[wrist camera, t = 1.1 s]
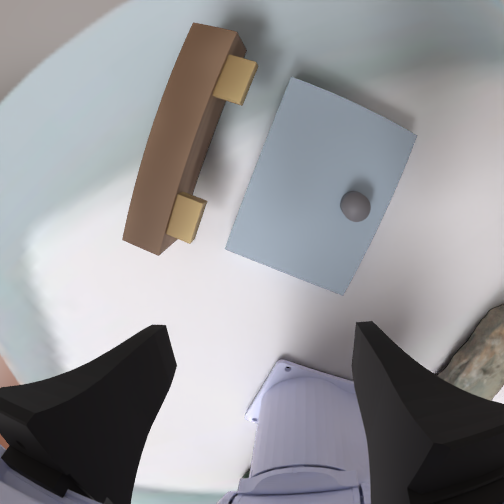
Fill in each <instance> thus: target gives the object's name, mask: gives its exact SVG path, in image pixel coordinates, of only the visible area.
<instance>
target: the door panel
mask: <svg viewBox="0 0 504 504" xmlns="http://www.w3.org/2000/svg"><path fill="white" fill-rule="evenodd" d="M416 138H417V135H416V134H414V133H412V132H410V131H409V130H407V129H405V128H403V127H401V126H400V125H398V124H396V123H394V122H392V121H390V120H388V119H387V118H385V117H383V116H381V115H379V114H377V113H375V112H373V111H371V110H369V109H367V108H365V107H363V106H361V105H358V104H356V103H354V102H352V101H350V100H348V99H345V98H343V97H341V96H339V95H336V94H334V93H332V92H329V91H327V90H325V89H322V88H320V87H317V86H315V85H312V84H310V83H307V82H305V81H302V80H299V79H297V78H294V77H291V79H290V81H289V83H288V86H287V88H286V91H285V93H284V96H283V98H282V101H281V103H280V106H279V108H278V111H277V113H276V116H275V118H274V121H273V123H272V126H271V128H270V131H269V133H268V136H267V139H266V141H265V144H264V146H263V149H262V151H261V154H260V157H259V159H258V162H257V164H256V167H255V170H254V172H253V175H252V177H251V180H250V183H249V185H248V188H247V191H246V193H245V196H244V198H243V201H242V204H241V206H240V209H239V212H238V215H237V217H236V220H235V223H234V225H233V228H232V231H231V233H230V236H229V239H228V242H227V244H226V247H225V249H226V250H228V251H231V252H233V253H236V254H238V255H241V256H243V257H246V258H248V259H251V260H253V261H256V262H258V263H261V264H263V265H266V266H269V267H271V268H274V269H276V270H279V271H281V272H284V273H286V274H289V275H291V276H294V277H296V278H299V279H301V280H304V281H307V282H309V283H312V284H314V285H317V286H319V287H322V288H324V289H327V290H330V291H332V292H335V293H337V294H340V295H342V296H343V295H344V293H345V291H346V289H347V287H348V286H349V284H350V282H351V280H352V278H353V276H354V274H355V272H356V271H357V269H358V267H359V265H360V263H361V261H362V259H363V257H364V255H365V253H366V251H367V249H368V247H369V245H370V243H371V241H372V239H373V237H374V235H375V233H376V231H377V229H378V226H379V224H380V222H381V220H382V218H383V216H384V214H385V212H386V209H387V207H388V205H389V203H390V200H391V198H392V196H393V194H394V191H395V189H396V187H397V185H398V182H399V180H400V177H401V175H402V173H403V170H404V168H405V165H406V163H407V161H408V158H409V156H410V153H411V151H412V148H413V145H414V143H415V140H416Z"/></svg>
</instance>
